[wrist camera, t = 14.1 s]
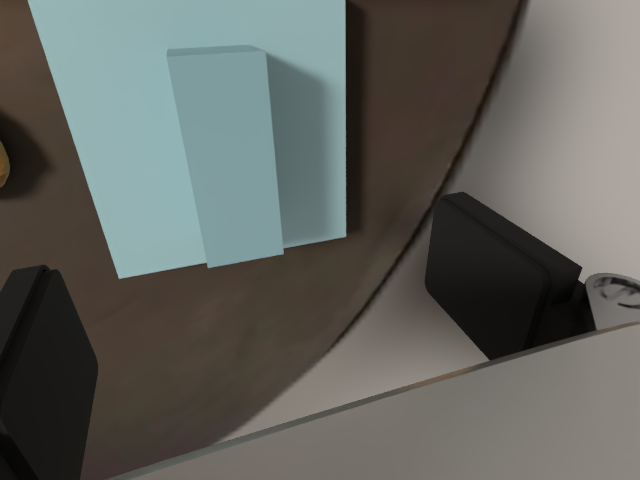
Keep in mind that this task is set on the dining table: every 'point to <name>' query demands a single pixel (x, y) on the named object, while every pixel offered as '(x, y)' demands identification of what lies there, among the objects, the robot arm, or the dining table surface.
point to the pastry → (3, 165)
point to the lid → (204, 123)
